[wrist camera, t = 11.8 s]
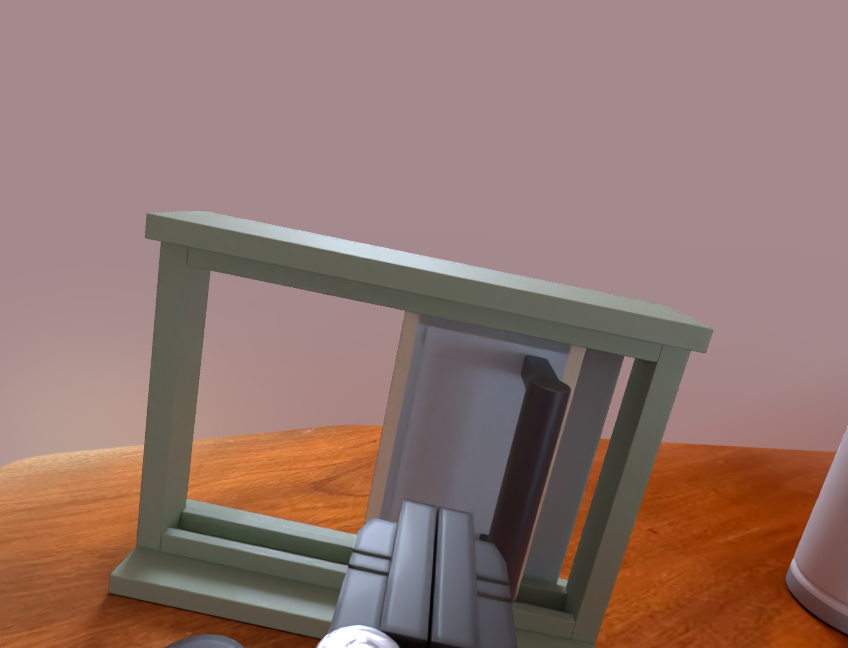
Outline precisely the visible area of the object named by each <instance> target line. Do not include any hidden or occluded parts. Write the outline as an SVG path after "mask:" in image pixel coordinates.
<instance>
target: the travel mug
mask: <svg viewBox="0 0 848 648" xmlns="http://www.w3.org/2000/svg"><path fill="white" fill-rule="evenodd" d="M786 583H787V585H788V588H789V590H790V591H791V592H792V594H793V595H794V597H795V598H796V599H797V600H798V601H799V602H800V603H801V604H802V605H803V606H804V607H805V608H806V609H808V610H809V611H810V612H811V613H813V614H814V615H815V616H817V617H818V618H819V619H821V620H822V621H824V622H825V623H827V624H829V625H830V626H832V627H834V628H836V629H837V630H839V631H841V632H843V633H845V634H847V635H848V427H847V429H846V431H845V434H844V436H843V439H842V441H841V444H840V446H839V448H838V451H837V453H836V456H835V458H834V460H833V463H832V465H831V468H830V470H829V473H828V475H827V477H826V480H825V482H824V485H823V487H822V490H821V492H820V494H819V497H818V499H817V502H816V504H815V507H814V509H813V511H812V514H811V516H810V519H809V521H808V524H807V526H806V528H805V531H804V533H803V536H802V538H801V541H800V543H799V545H798V548H797V550H796V553H795V558H794V559H793V560H792V562H791V565H790V567H789V570H788V572H787V574H786Z"/></svg>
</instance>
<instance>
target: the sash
mask: <svg viewBox="0 0 848 648" xmlns="http://www.w3.org/2000/svg"><path fill="white" fill-rule="evenodd" d="M585 351H586V348H584V347H579V346H574V345H569V344H565V343H560V342H555V341H550V340H545V339H540V338H535V337H531V336H526V335H521V334H516V333H511V332H506V331H502V330H497V329H492V328H487V327H482V326H477V325H472V324H468V323H463V322H458V321H453V320H448V319H443V318H439V317H434V316H429V315H424V314H419V313H414V312H409V311H405V315H404V320H403V325H402V331H401V335H400V341H399V346H398V351H397V356H396V361H395V367H394V372H393V378H392V382H391V387H390V392H389V398H388V403H387V408H386V413H385V418H384V424H383V429H382V434H381V439H380V444H379V449H378V455H377V460H376V465H375V470H374V475H373V480H372V486H371V491H370V496H369V501H368V506H367V511H366V517H365V522H364V525H365V524H367V523H368V522H369V521H370V520H371V519H372V518H377V519H382V520H386V521H391V522H395V523H397V522H398V518H399V513H400V508H401V504H402V500H403V499H408V500H412V501H417V502H422V503H426V504H431V505H436V512H437V509H438V507H439V506H441V507H445V508H450V509H455V510H459V511H464V512H469V513H472V514H473V523H474V539H475V540H480V541H484V542H489V543H494V544H495V546H496V548H497V549H498V551H499V552H500V554H501V555H502V557H503V558H504V560H505V562H506V565H507V573H508V580H509V584H508V586H509V587H510V595H511V603H512V602H513V601H514V602H515V601H516V598H517V594H518V591H519V587H520V583H521V580H522V576H523V573H524V569H525V566H526V562H527V558H528V555H529V551H530V548H531V544H532V540H533V537H534V533H535V530H536V526H537V523H538V519H539V515H540V512H541V508H542V505H543V501H544V497H545V494H546V490H547V487H548V483H549V480H550V476H551V472H552V469H553V465H554V462H555V458H556V454H557V451H558V447H559V444H560V440H561V436H562V433H563V429H564V426H565V422H566V419H567V415H568V411H569V408H570V404H571V401H572V397H573V393H574V390H575V386H576V383H577V379H578V376H579V372H580V368H581V365H582V361H583V358H584V354H585Z"/></svg>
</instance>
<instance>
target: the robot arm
mask: <svg viewBox="0 0 848 648" xmlns="http://www.w3.org/2000/svg"><path fill="white" fill-rule="evenodd" d="M508 584H509V580H508V573H507V565H506V562H505V560H504V558H503V557H502V555H501V554H500V552H499V551H498V549H497V548H496V546H495V544H494V543H489V542H484V541H480V540H475V539H474V523H473V514H472V513H469V512H464V511H459V510H455V509H450V508H445V507H441V506H439V507H438V509H437V512H436V505H431V504H426V503H422V502H417V501H412V500H408V499H403V500H402V504H401V508H400V513H399V518H398V522H397V523H395V522H391V521H386V520H382V519H377V518H372V519H371V520H370V521H369V522H368V523H367V524H365V525H364V526H363V527H362V528H361V529H360V530H359V531H358V534H357V538H356V541H355V544H354V548H353V552H352V554H351V558H350V561H349V565H348V568H347V571H346V575H345V578H344V581H343V585H342V588H341V591H340V595H339V598H338V601H337V605H336V608H335V611H334V615H333V618H332V622H331V625H330V628H329V630H328V633H327V635H326V636H325V637H324V638H323V639H322V640H321V641H320V643H319V644H318V645H317V647H316V648H518V647H517V640H516V632H515V625H514V617H513V610H512V603H511V595H510V587H509V586H508ZM165 648H244V647H243V646H242V645H241V644H240V643H238V642H237V641H235V640H233V639H231V638H229V637H225V636H221V635H214V634H202V635H196V636H191V637H188V638H185V639H182V640H180V641H177V642H175V643H173V644H171V645H169V646H167V647H165Z"/></svg>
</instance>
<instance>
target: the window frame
mask: <svg viewBox="0 0 848 648" xmlns="http://www.w3.org/2000/svg"><path fill="white" fill-rule="evenodd" d="M145 238H147V239H153V240H157V241H161V248H160V259H159V272H158V284H157V297H156V309H155V321H154V334H153V346H152V359H151V370H150V383H149V395H148V407H147V419H146V420H147V421H146V432H145V444H144V456H143V469H142V481H141V493H140V506H139V518H138V530H137V543H136V545H137V546H136V547H135V548H134V549H133V550H132V551H131V553H130V554H129V555H128V556H127V557H126V558H125V559H124V560H123V561H122V562H121V563H120V564H119V565H118V566H117V568H116V569H115V570H114V571H113V572H112V573H111V574H110V581H109V593H112V594H117V595H122V596H126V597H131V598H135V599H140V600H145V601H149V602H154V603H158V604H163V605H168V606H172V607H177V608H182V609H186V610H191V611H195V612H200V613H205V614H209V615H214V616H218V617H223V618H228V619H232V620H237V621H242V622H246V623H251V624H255V625H260V626H265V627H269V628H274V629H278V630H283V631H288V632H292V633H297V634H301V635H306V636H311V637H315V638H320V639H323V638H324V637H325V636H326V635H327V633H328V630H329V628H330V625H331V622H332V618H333V615H334V611H335V608H336V605H337V601H338V598H339V595H340V591H341V588H342V585H343V581H344V578H345V575H346V571H347V568H348V565H349V561H350V558H351V554H352V552H353V548H354V544H355V541H356V538H357V535H355V534H350V533H346V532H341V531H336V530H332V529H327V528H322V527H317V526H313V525H308V524H303V523H299V522H294V521H289V520H285V519H280V518H275V517H271V516H266V515H261V514H257V513H252V512H247V511H242V510H238V509H233V508H228V507H224V506H219V505H214V504H210V503H205V502H200V501H196V500H191V499H187V491H188V481H189V472H190V462H191V453H192V443H193V433H194V423H195V414H196V405H197V395H198V385H199V376H200V366H201V356H202V346H203V337H204V328H205V318H206V308H207V299H208V289H209V279H210V270H211V271H216V272H221V273H226V274H230V275H235V276H240V277H245V278H250V279H254V280H259V281H264V282H269V283H274V284H279V285H283V286H288V287H293V288H299V289H304V290H308V291H313V292H317V293H322V294H327V295H332V296H337V297H342V298H347V299H352V300H356V301H361V302H366V303H371V304H376V305H380V306H385V307H390V308H395V309H400V310H405V311H409V312H414V313H419V314H424V315H429V316H434V317H439V318H443V319H448V320H453V321H458V322H463V323H468V324H472V325H477V326H482V327H487V328H492V329H497V330H502V331H506V332H511V333H516V334H521V335H526V336H531V337H535V338H540V339H545V340H550V341H555V342H560V343H565V344H569V345H574V346H579V347H584V348H586V351H585V354H584V358H583V361H582V365H581V368H580V372H579V376H578V379H577V383H576V386H575V390H574V393H573V397H572V401H571V404H570V408H569V411H568V415H567V419H566V422H565V426H564V429H563V433H562V436H561V440H560V444H559V447H558V451H557V454H556V458H555V462H554V465H553V469H552V472H551V476H550V480H549V483H548V487H547V490H546V494H545V497H544V501H543V505H542V508H541V512H540V515H539V519H538V523H537V526H536V530H535V533H534V537H533V540H532V544H531V548H530V551H529V555H528V558H527V562H526V566H525V569H524V573H523V576H522V580H521V583H520V587H519V591H518V594H517V598H516V601H515V602H514V601H513V602H512V610H513V617H514V625H515V632H516V640H517V647H518V648H595V645H594V644H595V642H596V639H597V636H598V633H599V630H600V627H601V624H602V621H603V618H604V615H605V612H606V609H607V605H608V602H609V599H610V596H611V593H612V590H613V587H614V584H615V581H616V578H617V575H618V572H619V569H620V566H621V563H622V560H623V557H624V553H625V550H626V547H627V544H628V541H629V538H630V535H631V532H632V529H633V526H634V523H635V520H636V517H637V514H638V511H639V508H640V505H641V501H642V498H643V495H644V492H645V489H646V486H647V483H648V480H649V477H650V474H651V471H652V468H653V465H654V462H655V459H656V456H657V453H658V450H659V446H660V443H661V440H662V437H663V434H664V431H665V428H666V425H667V422H668V419H669V415H670V413H671V410H672V407H673V404H674V401H675V398H676V394H677V391H678V388H679V385H680V382H681V379H682V376H683V373H684V370H685V367H686V363H687V361H688V358H689V354H690V352H691V351H696V352H701V353H706V351H707V348H708V345H709V342H710V339H711V336H712V333H713V329H712V328H710V327H708V326H706V325H704V324H702V323H700V322H698V321H696V320H694V319H692V318H690V317H688V316H686V315H684V314H682V313H680V312H678V311H676V310H674V309H672V308H670V307H668V306H666V305H661V304H656V303H651V302H646V301H642V300H637V299H632V298H627V297H622V296H617V295H612V294H607V293H602V292H598V291H593V290H588V289H583V288H578V287H573V286H568V285H563V284H558V283H553V282H549V281H543V280H539V279H534V278H529V277H524V276H519V275H514V274H510V273H505V272H500V271H495V270H489V269H485V268H480V267H475V266H470V265H465V264H461V263H456V262H450V261H446V260H441V259H436V258H431V257H427V256H422V255H417V254H412V253H407V252H402V251H397V250H392V249H387V248H382V247H378V246H372V245H368V244H363V243H358V242H353V241H348V240H343V239H338V238H334V237H329V236H324V235H319V234H314V233H309V232H304V231H299V230H295V229H290V228H285V227H280V226H275V225H270V224H265V223H260V222H255V221H251V220H245V219H241V218H236V217H231V216H226V215H221V214H216V213H211V212H206V211H190V212H165V213H164V212H162V213H147V217H146V231H145ZM624 356H628V357H632V358H635V360H634V364H633V367H632V370H631V374H630V377H629V380H628V383H627V387H626V390H625V393H624V397H623V400H622V403H621V407H620V410H619V413H618V417H617V420H616V423H615V426H614V430H613V433H612V436H611V440H610V443H609V446H608V449H607V453H606V456H605V459H604V463H603V466H602V469H601V473H600V476H599V479H598V482H597V486H596V489H595V492H594V496H593V499H592V502H591V506H590V509H589V512H588V516H587V519H586V522H585V525H584V529H583V532H582V535H581V539H580V542H579V545H578V549H577V552H576V555H575V558H574V562H573V565H572V568H571V572H570V575H569V578H568V580H566V579H561V578H559V574H560V571H561V568H562V564H563V561H564V558H565V554H566V551H567V548H568V544H569V541H570V537H571V534H572V531H573V527H574V524H575V521H576V517H577V514H578V511H579V507H580V504H581V500H582V497H583V494H584V490H585V487H586V484H587V480H588V477H589V474H590V470H591V467H592V463H593V460H594V457H595V453H596V450H597V447H598V443H599V440H600V437H601V433H602V430H603V426H604V423H605V420H606V416H607V413H608V410H609V406H610V403H611V399H612V396H613V393H614V389H615V386H616V383H617V379H618V376H619V373H620V369H621V366H622V363H623V359H624Z"/></svg>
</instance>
